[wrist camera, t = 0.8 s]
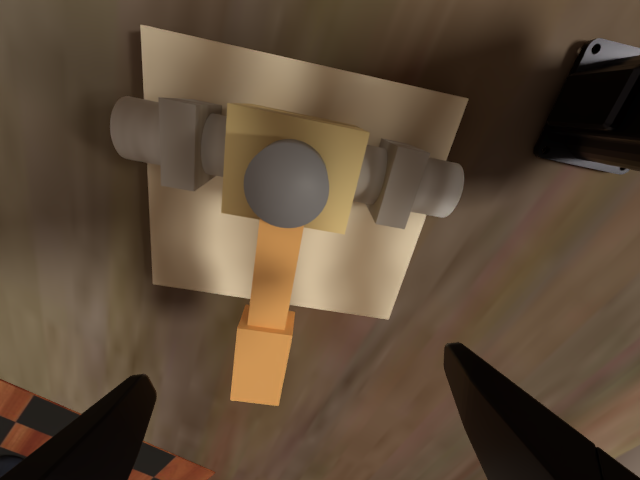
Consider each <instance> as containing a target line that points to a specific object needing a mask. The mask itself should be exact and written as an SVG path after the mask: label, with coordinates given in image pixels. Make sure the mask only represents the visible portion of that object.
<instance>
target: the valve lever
mask: <svg viewBox="0 0 640 480" xmlns="http://www.w3.org/2000/svg"><path fill="white" fill-rule="evenodd" d="M244 193H245V197H246V200H247V202H248V204H249V206H250V208H251V209H252V210H253V212H254V213H255V214H256V215H257V216H258V217H259V218H260V220H259V229H258V238H257V246H256V255H255V263H254V272H253V281H252V289H251V298H250V305H245V308H244V311H243V314H242V317H241V319H240V322H239V325H238V328H237V337H236V347H235V357H234V367H233V378H232V388H231V398H230V400H233V401H241V402H250V403H258V404H267V405H275V406H279V401H280V396H281V391H282V386H283V381H284V376H285V371H286V366H287V361H288V356H289V351H290V346H291V341H292V336H293V326H294V316H295V312H293V311H288V310H289V305H290V299H291V294H292V288H293V283H294V277H295V272H296V267H297V261H298V256H299V250H300V245H301V239H302V234H303V229H304V225H306V224H308V223H310V222H311V221H313V220H314V219H315V218H316V217H317V216H318V215H319V214H320V213H321V212H322V210H323V209H324V207H325V205H326V203H327V200H328V196H329V180H328V174H327V169H326V165H325V163H324V160H323V159H322V157H321V155H320V154H319V153H318V152H317V151H316V150H315V149H314V148H313V147H312V146H310V145H309V144H307V143H305V142H303V141H300V140H296V139H282V140H278V141H275V142H273V143H271V144H269V145H268V146H267V147H265V148H264V149H263V150H262V151H260V152H259V153H258V154H257V155H256V156H255V157H254V158H253V159H252V160H251V162H250V163H249V165H248V167H247V169H246V172H245V176H244Z"/></svg>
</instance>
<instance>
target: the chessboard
mask: <svg viewBox="0 0 640 480" xmlns="http://www.w3.org/2000/svg"><path fill="white" fill-rule="evenodd" d="M80 415H81V414H80V413H78V412H75V411H73V410H71V409H68V408H66V407H64V406H61V405H59V404H57V403H55V402H52V401H50V400H48V399H45V398H43V397H41V396H38V395H36V394H34V393H31V392H29V391H27V390H25V389H22V388H20V387H18V386H15V385H13V384H11V383H8V382H6V381H4V380H1V379H0V477H2V476H3V475H4V474H6V473H7V472H8V471H9V470H11V469H12V468H13V467H15V466H16V465H17V464H18V463H20V462H21V461H22V460H24V459H25V458H26V457H27V456H29V455H30V454H31V453H32V452H34V451H35V450H36V449H38V448H39V447H40V446H41V445H43V444H44V443H45V442H47V441H48V440H49V439H50V438H52V437H53V436H54V435H56V434H57V433H58V432H59V431H61V430H62V429H63V428H64V427H66V426H67V425H68V424H70V423H71V422H72V421H73V420H75V419H76V418H77V417H79V416H80ZM213 474H215V472H214V471H212V470H209V469H207V468H205V467H202V466H200V465H198V464H195V463H193V462H191V461H189V460H186V459H184V458H182V457H179V456H177V455H175V454H172V453H170V452H168V451H165V450H163V449H161V448H158V447H156V446H154V445H152V444H149V443H147V442H145V441H143V442H142V445H141V448H140V451H139V454H138V457H137V459H136V462H135V464H134V467H133V469H132V471H131V474H130V476H129V479H128V480H207V479H209V478H210V477H211V476H212V475H213Z"/></svg>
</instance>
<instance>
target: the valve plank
mask: <svg viewBox="0 0 640 480" xmlns="http://www.w3.org/2000/svg"><path fill="white" fill-rule="evenodd" d="M140 28H141V48H142V69H143V90H144V99H140V98H135V97H131V96H123V97H121V98H120V99H119V100H118V101H117V102H116V103H115V105H114V107H113V110H112V113H111V119H110V133H111V138H112V142H113V145H114V147H115V149H116V151H117V152H118V154H119V155H120V156H121V157H123V158H125V159H129V160H134V161H140V162H145V163H147V173H148V194H149V214H150V235H151V256H152V277H153V284H155V285H162V286H169V287H175V288H182V289H189V290H195V291H202V292H208V293H215V294H222V295H228V296H235V297H242V298H248V299H250V298H251V289H252V281H253V272H254V263H255V255H256V246H257V238H258V229H259V220H260V218H259V217H258V216H257V215H256V214H255V213H254V212H253V210H252V209H251V208H250V206H249V204H248V202H247V200H246V197H245V193H244V176H245V172H246V169H247V167H248V165H249V163H250V162H251V160H252V159H253V158H254V157H255V156H256V155H257V154H258V153H259V152H260V151H262V150H263V149H264V148H265V147H267V146H268V145H269V144H271V143H273V142H275V141H278V140H282V139H296V140H300V141H303V142H305V143H307V144H309V145H310V146H312V147H313V148H314V149H315V150H316V151H317V152H318V153H319V154H320V155H321V157H322V159H323V160H324V163H325V165H326V169H327V174H328V180H329V196H328V200H327V203H326V205H325V207H324V209H323V210H322V212H321V213H320V214H319V215H318V216H317V217H316V218H315V219H314V220H313V221H311V222H310V223H308V224H306V225H304V229H303V234H302V239H301V245H300V250H299V256H298V261H297V267H296V272H295V277H294V283H293V288H292V294H291V299H290V305H295V306H302V307H308V308H315V309H322V310H328V311H335V312H342V313H348V314H355V315H362V316H368V317H375V318H382V319H388V320H389V317H390V314H391V311H392V309H393V306H394V303H395V300H396V298H397V295H398V292H399V289H400V286H401V284H402V281H403V278H404V275H405V273H406V270H407V267H408V264H409V262H410V259H411V256H412V253H413V251H414V248H415V245H416V242H417V240H418V237H419V234H420V231H421V229H422V226H423V223H424V220H425V218H426V215H431V216H436V217H442V218H443V217H446V216H448V215H449V214H451V213H452V211H453V210H454V209H455V207H456V206H457V204H458V202H459V200H460V197H461V194H462V191H463V186H464V171H463V168H462V166H461V165H460V164H458V163H454V162H449V161H446V160H447V157H448V154H449V152H450V149H451V146H452V143H453V141H454V138H455V135H456V132H457V130H458V127H459V124H460V121H461V119H462V116H463V113H464V110H465V108H466V105H467V102H468V98H464V97H459V96H455V95H451V94H446V93H442V92H437V91H433V90H428V89H424V88H420V87H415V86H411V85H406V84H402V83H397V82H393V81H389V80H384V79H380V78H375V77H371V76H366V75H362V74H358V73H353V72H349V71H344V70H340V69H335V68H331V67H327V66H322V65H318V64H313V63H309V62H304V61H300V60H296V59H291V58H287V57H282V56H278V55H273V54H269V53H265V52H260V51H256V50H251V49H247V48H242V47H238V46H234V45H229V44H225V43H220V42H216V41H211V40H207V39H203V38H198V37H194V36H189V35H185V34H180V33H176V32H172V31H167V30H163V29H158V28H154V27H149V26H145V25H141V24H140Z"/></svg>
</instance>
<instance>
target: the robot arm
mask: <svg viewBox="0 0 640 480" xmlns="http://www.w3.org/2000/svg"><path fill="white" fill-rule="evenodd" d="M593 46H594V47H595V50H594V52H593V53H592V52H591V49H592V47H593ZM545 146H546V150H545V151H544V152H543V153H542V149H543V148H544V147H545ZM534 154H535V156H537V157H540V158H544V159H549V160H554V161H558V162H563V163H568V164H573V165H577V166H582V167H587V168H592V169H596V170H601V171H606V172H610V173H615V174H624V173H626V172H628V171H629V170H630V169H631V170H636V171H640V48H637V47H633V46H629V45H625V44H621V43H617V42H613V41H610V40H606V39H602V38H597V39H593V40H590V41H588V42H587V43H586V44H584V46H583V47H582V49H581V51H580V53H579V56H578V58H577V60H576V62H575V64H574V66H573V68H572V70H571V72H570V74H569V76H568V78H567V80H566V82H565V84H564V86H563V88H562V90H561V92H560V94H559V96H558V98H557V101H556V103H555V105H554V107H553V109H552V111H551V113H550V115H549V117H548V120H547V123H546V125H545V127H544V129H543V131H542V133H541V135H540V137H539V140H538V142H537V144H536V146H535V148H534ZM620 167H621V168H620ZM444 370H445V373H446V376H447V379H448V382H449V385H450V388H451V391H452V394H453V397H454V400H455V403H456V406H457V409H458V411H459V414H460V417H461V420H462V423H463V426H464V428H465V431H466V433H467V435H468V438H469V440H470V442H471V444H472V446H473V448H474V451H475V453H476V455H477V457H478V459H479V461H480V464H481V466H482V468H483V470H484V472H485V475H486V477H487V479H488V480H640V478H639V477H638V476H637V475H635V474H634V473H632V472H631V471H630V470H628V469H627V468H626V467H624V466H623V465H622V464H620V463H619V462H617V461H616V460H615V459H614V458H612V457H611V456H610V455H608V454H607V453H606V452H604V451H603V450H602V449H600V448H599V447H595V445H594V443H592V442H591V441H590V440H588V439H587V438H586V437H584V436H583V435H582V434H580V433H579V432H578V431H577V430H575V429H574V428H573V427H571V426H570V425H569V424H567V423H566V422H565V421H563V420H562V419H561V418H559V417H558V416H557V415H555V414H554V413H553V412H551V411H550V410H549V409H548V408H546V407H545V406H544V405H542V404H541V403H540V402H538V401H537V400H536V399H534V398H533V397H532V396H530V395H529V394H528V393H526V392H525V391H524V390H522V389H521V388H520V387H519V386H517V385H516V384H515V383H513V382H512V381H511V380H509V379H508V378H507V377H505V376H504V375H503V374H501V373H500V372H499V371H497V370H496V369H495V368H493V367H492V366H491V365H490V364H488V363H487V362H486V361H484V360H483V359H482V358H480V357H479V356H478V355H476V354H475V353H474V352H472V351H471V350H470V349H468V348H467V347H466V346H464V345H463V344H462V343H459V342H457V343H447V344H446V345H445V349H444ZM156 397H157V394H156V390H155V388H154V387H153V385H152V383H151V381H150V379H149V377H148V376H147V375H146V374H139V375H132V376H130V377H129V378H127V379H126V380H125V381H123V382H122V383H121V384H120V385H118V386H117V387H116V388H114V389H113V390H112V391H111V392H109V393H108V394H107V395H105V396H104V397H103V398H102V399H100V400H99V401H98V402H97V403H95V404H94V405H93V406H91V407H90V408H89V409H88V410H86V411H85V412H84V413H82V414H81V415H80V416H79V417H77V418H76V419H75V420H73V421H72V422H71V423H70V424H68V425H67V426H66V427H64V428H63V429H62V430H61V431H59V432H58V433H57V434H56V435H54V436H53V437H52V438H50V439H49V440H48V441H47V442H45V443H44V444H43V445H41V446H40V447H39V448H38V449H36V450H35V451H34V452H32V453H31V454H30V455H29V456H27V457H26V458H25V459H24V460H22V461H21V462H20V463H18V464H17V465H16V466H15V467H13V468H12V469H11V470H9V471H8V472H7V473H6V474H4V475H3V476H2V477H0V480H128V479H129V476H130V474H131V471H132V469H133V467H134V464H135V462H136V459H137V457H138V454H139V451H140V448H141V445H142V442H143V439H144V436H145V433H146V430H147V427H148V424H149V421H150V418H151V414H152V411H153V408H154V405H155V402H156Z"/></svg>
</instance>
